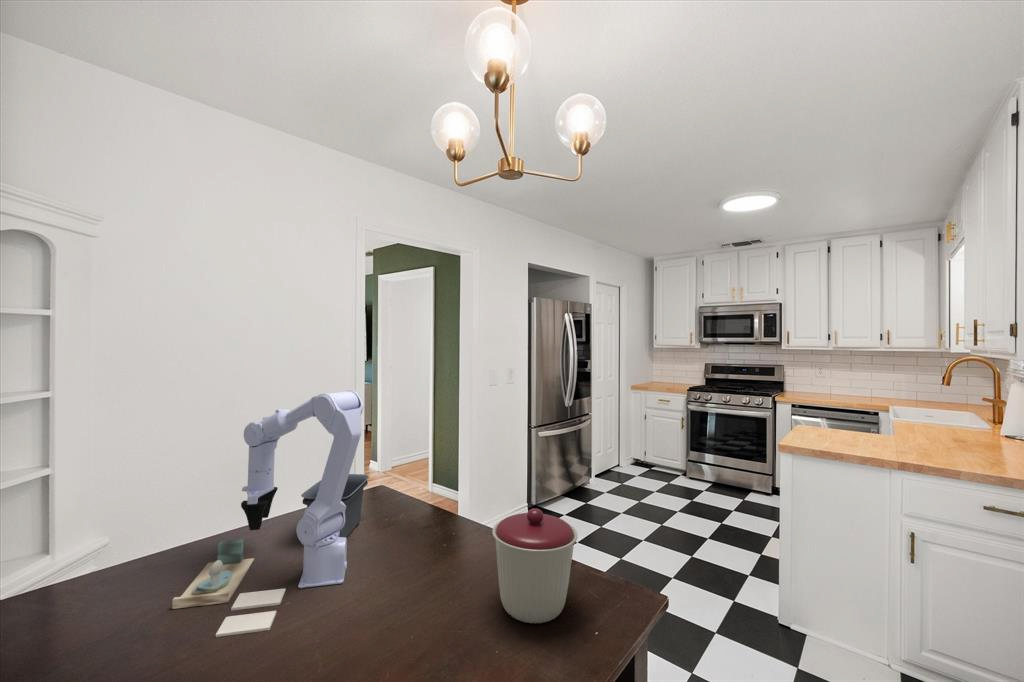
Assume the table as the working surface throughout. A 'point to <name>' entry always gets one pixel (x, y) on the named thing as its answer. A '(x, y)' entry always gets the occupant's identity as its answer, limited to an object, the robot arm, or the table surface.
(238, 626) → the broken strip
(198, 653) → the table surface
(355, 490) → the storage bin
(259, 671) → the table surface
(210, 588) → the pacifier
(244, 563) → the wooden board
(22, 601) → the table surface
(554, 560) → the canister
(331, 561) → the robot arm
